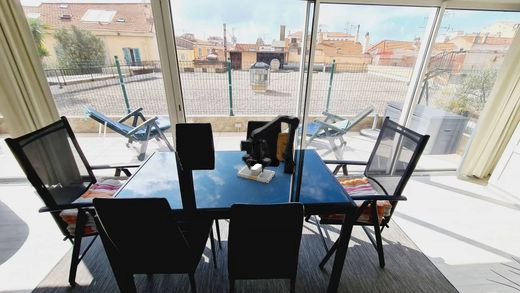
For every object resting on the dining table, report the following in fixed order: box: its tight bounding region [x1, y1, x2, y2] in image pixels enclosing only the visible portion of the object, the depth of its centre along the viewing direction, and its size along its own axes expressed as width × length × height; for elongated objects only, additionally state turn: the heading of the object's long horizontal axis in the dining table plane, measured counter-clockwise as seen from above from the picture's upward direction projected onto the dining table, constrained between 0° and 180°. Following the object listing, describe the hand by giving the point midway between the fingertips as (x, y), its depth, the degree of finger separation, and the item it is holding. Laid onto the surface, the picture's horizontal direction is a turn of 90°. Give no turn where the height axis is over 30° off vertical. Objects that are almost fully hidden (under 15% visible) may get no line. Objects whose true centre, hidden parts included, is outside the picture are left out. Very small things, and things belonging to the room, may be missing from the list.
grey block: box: [251, 163, 263, 177], centre depth 145 cm, size 4×8×6 cm, turn 156°
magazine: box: [261, 139, 270, 159], centre depth 169 cm, size 4×13×15 cm, turn 95°
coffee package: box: [276, 131, 295, 162], centre depth 166 cm, size 10×12×22 cm
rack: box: [237, 164, 276, 184], centre depth 146 cm, size 22×12×2 cm, turn 67°
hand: (256, 171), depth 145 cm, fingers open, 9 cm apart
